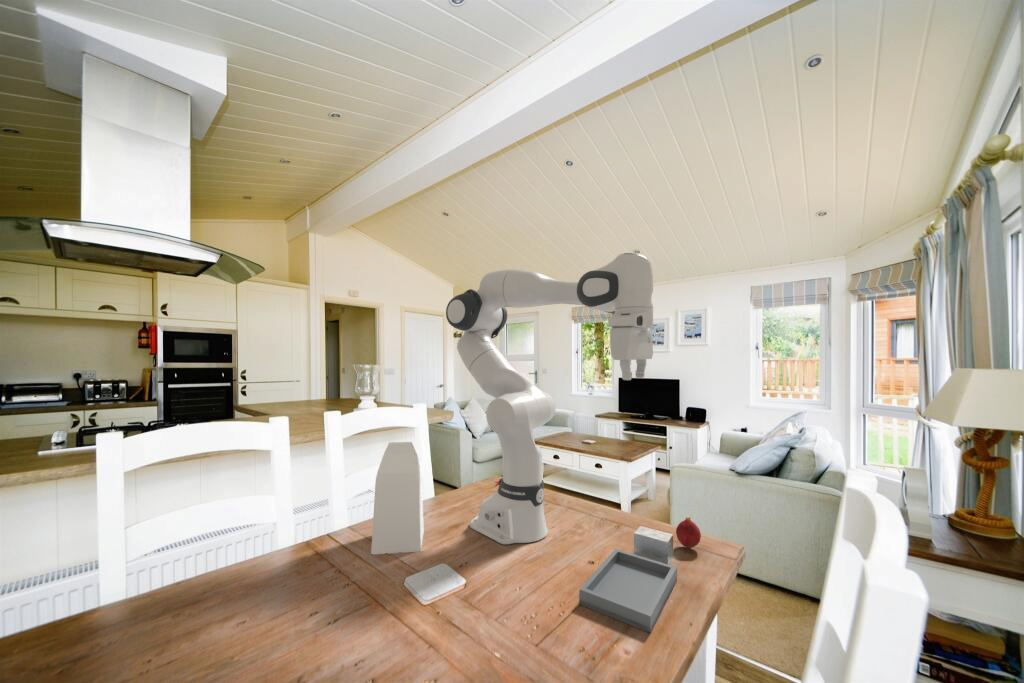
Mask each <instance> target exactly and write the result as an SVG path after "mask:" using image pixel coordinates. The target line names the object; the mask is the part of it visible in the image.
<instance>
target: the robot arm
mask: <svg viewBox="0 0 1024 683" xmlns="http://www.w3.org/2000/svg"><path fill="white" fill-rule="evenodd" d="M652 266H653V265H652V263H651V261H650V259H649V258H647V257H646V256H645V255H643V254H638V253H633V252H626V253H625V252H624V253H621V254H618V255H617V256H616V257H615V258H614V259H613V260H612V261H610V262H609V263H607V264H606V265H604V266H601V267H599V268H597V269H594V270H589V271H586V272H585V273H584V274H583V275H582V276H581V277H579V278H580V279H579V280H578V282H576V281H573V282H572V281H571V282H570V281H563V280H560V279H556V278H554V277H550V276H547V275H545V274H544V273H543V274H542V273H539V272H537V271H533V270H528V269H522V268H516V269H515V268H513V269H512V268H511V269H510V268H509V269H501V270H496V271H491V272H488V273H486V274H485V275H483V277H482V278H481V280H480V283H479V287H478V289H477V290H474V289H468V290H465V291H464V292H462V293H459V294H457V295H456V296H454V297H452V298H451V299H450V301H448V303H447V305H446V308H445V309H446V310H445V318H446V320H447V323H448V324H449V325H450V326H451V327H452V328H454V329H457V330H459V331H462V332H463V331H464V332H463V334H462V335H461V336H460V337H459V338H458V341H457V343H456V344H457V345H456V349H457V352H458V355H459V357H460V359H461V361H462V363H463V364H464V366H465V368H466V369H467V371H468V372H469V373H470V375H471V376H472V377H473V378H474V380H475V381H476V383H477V384H478V385H479V387H480V388H481V389H482V391H483V392H484V393H485V394H487V395H489V396H491V397H493V398H495V399H493V400H491V401H490V402H489V404H488V406H487V407H486V411H485V412H486V413H485V418H486V422H487V425H488V426H489V428H490V429H491V430H492V431H493V432H494V433H495V434H496V437H497V438H498V441H499V444H500V448H501V454H502V478H500V479H499V480H497V481H495V482H494V487H497V486H498V488H497V491H494V493H493V494H491V495H490V496H489V497H487V498H486V499H484V501H482V502H481V503H480V506H479V509H478V513H477V515H476V516H475V517H474V518H473V519H472V520H471V521H470V523H469V528H471V529H473V530H474V531H476V532H478V533H480V534H482V535H484V536H486V537H488V538H490V539H491V540H494V541H495V542H497V543H499V544H501V545H511V544H526V543H533V542H534V543H535V542H537V541H540V540H542V539H544V538H546V536H547V535H548V532H549V531H548V526H547V522H546V518H545V510H544V498H545V497H544V494H545V493H544V492H545V491H544V490H545V487H544V483H545V482H544V480H543V452H542V451H541V449H540V448H539V447H538V446H537V445H536V442H535V438H534V429H537V428H540V427H542V426H544V425H546V424H547V423H548V422H549V421H550V420H552V419H553V417H554V416H555V414H556V402H555V400H554V398H553V396H551V394H550V393H548V392H547V391H543V390H541V389H540V388H538V386H536V385H534V384H533V383H532V381H531V382H530V380H528V379H527V378H526V377H524V376H523V375H522V374H521V373H520V372H519V371H517V370H516V369H515V368H514V367H513V365H511V364H512V363H510V361H509V360H507V358H506V357H505V356H504V355H503V353H502V352H501V351H500V350H499V349H498V347H497V346H496V345H495V343H494V341H492V339H495V338H497V336H498V335H499V333H500V332H501V331H502V329H503V328H504V327H505V325H506V323H507V320H508V310H507V308H513V309H514V308H516V309H517V308H521V309H522V308H533V307H541V306H550V305H551V306H552V305H560V304H561V305H565V304H566V305H576V306H577V305H580V306H585V307H588V308H590V309H593V310H597V311H603V312H605V313H608V314H612V315H611V316H609V318H608V319H607V324H608V327H609V328H610V330H609V337H610V338H609V343H610V354H611V357H612V359H613V361H619V366H620V369H621V376H622V377H621V379H622V380H623V381H631V380H632V378H633V371H631V369H632V368H631V365H632V361H633V360H634V361H635V362H636V370H635V378H637V379H643V378H645V371H646V366H647V360H652V359H653V355H654V349H653V348H654V347H653V345H654V342H653V334H652V331H651V330H650V329H653V328H654V305H653V303H652V302H653V301H652V296H653V292H654V277H653V276H654V275H653V268H652Z"/></svg>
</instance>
